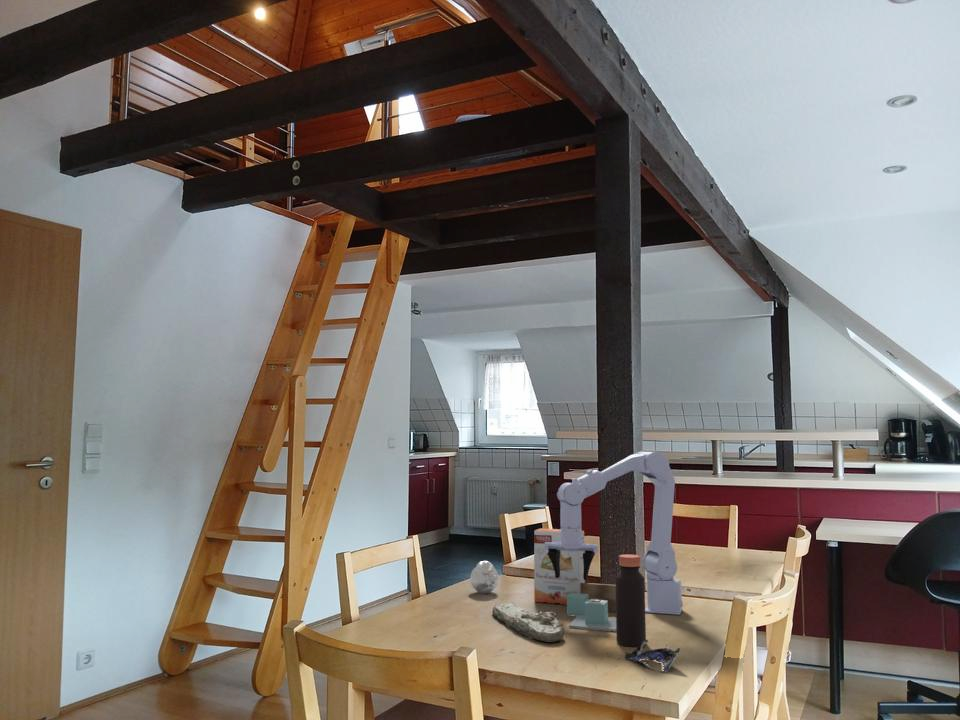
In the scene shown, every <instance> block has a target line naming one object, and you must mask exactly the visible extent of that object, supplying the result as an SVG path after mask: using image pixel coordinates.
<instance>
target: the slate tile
mask: <svg viewBox="0 0 960 720" xmlns="http://www.w3.org/2000/svg"><path fill="white" fill-rule="evenodd" d="M568 628H569V629H576V628H577V630H578V629H579V630H588V631H599V630H602V631H603V632H611V631H613V632H612V633H616V617H611V616H610V617H609V616H608V621H607V622H606V624H605V625H600V624H588V623H585V615H578V616H576V617H575V618H574V619H573V620H572V621H571V622H570V624H568ZM602 631H601V632H602Z"/></svg>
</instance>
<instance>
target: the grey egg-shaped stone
mask: <svg viewBox="0 0 960 720" xmlns="http://www.w3.org/2000/svg"><path fill="white" fill-rule="evenodd" d="M469 578H470V579H469V580H470V584H471V587H472V588H473V589H474V590H475V591H476V592H478V593H480V594H489V593H492V592H493V591H494V590H496V588H497V587H498V585H499V580H500V578H499V573H498V571H497V569H496V568H495V566H494V565H493V563H492V562H490V561H488V560H483V561H482V560H481V561H479V562H478V563H477V564H476V567H474V568H473V569H472V571H471V573H470V577H469Z"/></svg>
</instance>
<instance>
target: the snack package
mask: <svg viewBox="0 0 960 720" xmlns="http://www.w3.org/2000/svg"><path fill="white" fill-rule="evenodd" d="M647 643H649V640H648V639H647V638H646V639H645V640H644V641H643V642H642V643H641V644H640V646H638V647H636V649H634V650H633V651H632V652H627V651H626V652H625V657H624V658H625V659H626V658H627V659H626V660H631V661H633V660H634V662H635V663H642V664H644V665H645V667H647V668H648V669H651V668H650V667H651V666H650V667H649V665H647V664H648V663H645V662H643V661H639V660H640V659H645V660H644V661H649V660H656V661H658V662H662V663H663V665H664V666H663V667H664V669H663V670H664V671H662V670H661V671H660V673H663V672H666V673H668V671H669V670H670V667H672V665H673V664H674V662H675V660H676V658H677V656H678V654H679V652H680V648H679V647H678V648H677V649H676V650H672V649H670V648H667V647H665V648H664V647H663V648H655V649H649V650H646V651H643V649H644V648H645V645H646V644H647ZM665 646H668V644H665ZM642 651H643V652H642ZM647 659H648V660H647Z"/></svg>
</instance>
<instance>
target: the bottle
mask: <svg viewBox="0 0 960 720" xmlns="http://www.w3.org/2000/svg"><path fill="white" fill-rule="evenodd" d="M618 565H619V568H620V571H619V572H618V573H617V574H616V576H615V580H614V581H615V585H616V612H615V618H616V632H615V633H616V643H618V645H621V646H623V645H624V646H625V647H630V648H631V647H636V648H638V647H639V646H640V644H641V643H642V642H643V641H644V640H645V639H646V640H647V634H646V629H647V628H646V612H645V609H646V594H645V593H646V588H645V586H646V585H645V584H646V583H645V577H644V575H642V574H641V572H640V568H641V567H640V566H641V556H640V555H637V554H631V553H630V554H620V555H618Z"/></svg>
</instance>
